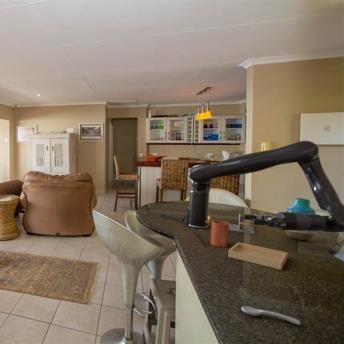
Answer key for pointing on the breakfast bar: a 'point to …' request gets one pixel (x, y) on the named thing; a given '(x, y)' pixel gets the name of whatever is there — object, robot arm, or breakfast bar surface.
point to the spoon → (257, 312)
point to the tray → (258, 255)
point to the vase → (300, 207)
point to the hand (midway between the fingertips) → (249, 219)
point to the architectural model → (241, 226)
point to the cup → (219, 233)
